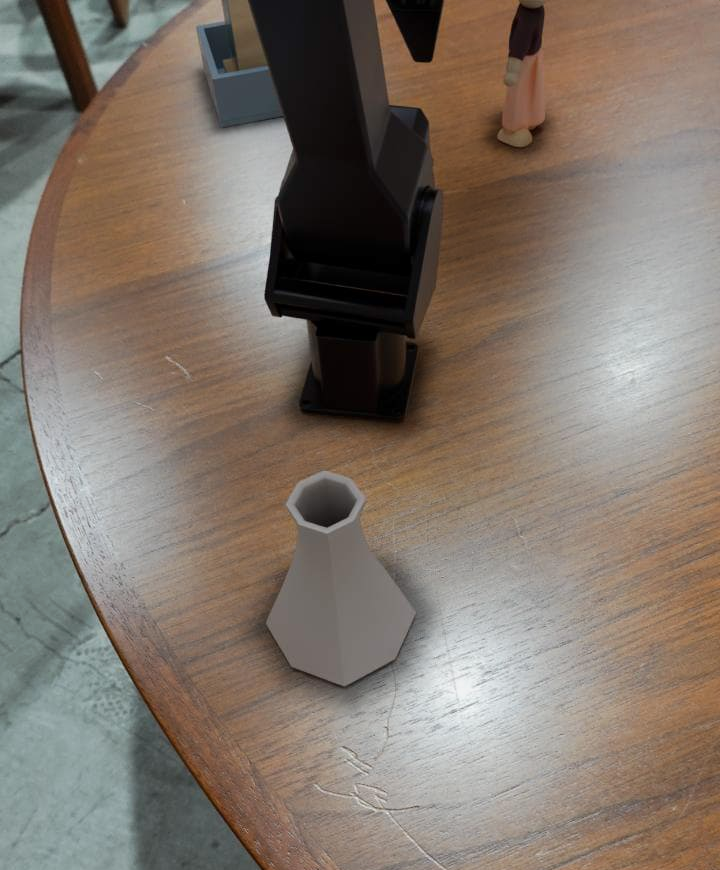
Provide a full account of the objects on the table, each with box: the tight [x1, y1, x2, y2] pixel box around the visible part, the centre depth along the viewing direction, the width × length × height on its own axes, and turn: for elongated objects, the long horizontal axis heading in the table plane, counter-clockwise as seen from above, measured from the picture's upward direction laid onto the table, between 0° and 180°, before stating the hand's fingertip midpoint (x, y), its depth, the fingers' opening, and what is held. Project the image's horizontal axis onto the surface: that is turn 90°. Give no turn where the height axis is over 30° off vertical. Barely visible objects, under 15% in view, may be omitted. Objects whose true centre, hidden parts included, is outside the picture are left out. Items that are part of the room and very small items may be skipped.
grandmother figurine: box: [496, 0, 548, 148], centre depth 66 cm, size 8×4×13 cm, turn 172°
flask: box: [265, 469, 417, 687], centre depth 42 cm, size 7×7×10 cm
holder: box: [195, 20, 283, 128], centre depth 74 cm, size 9×7×4 cm
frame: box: [220, 0, 268, 73], centre depth 71 cm, size 6×4×12 cm, turn 15°
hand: (433, 23), depth 55 cm, fingers open, 9 cm apart
